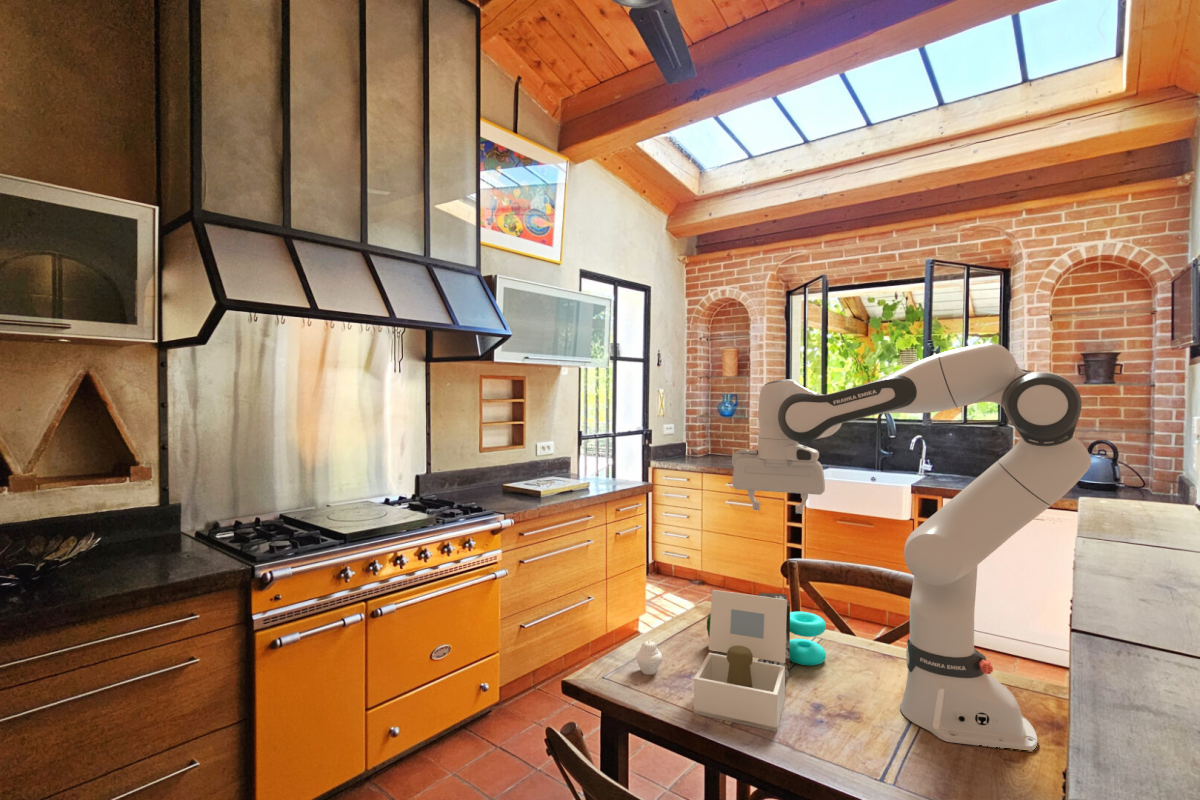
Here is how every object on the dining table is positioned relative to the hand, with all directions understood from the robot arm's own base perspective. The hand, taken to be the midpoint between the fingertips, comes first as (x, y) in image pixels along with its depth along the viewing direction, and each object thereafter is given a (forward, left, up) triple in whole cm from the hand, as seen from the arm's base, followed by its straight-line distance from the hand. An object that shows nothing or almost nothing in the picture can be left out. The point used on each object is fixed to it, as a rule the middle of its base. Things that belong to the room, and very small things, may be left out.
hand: (777, 511), depth 135 cm
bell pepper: (+14, -9, -37) cm, 41 cm away
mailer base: (+5, +18, -37) cm, 42 cm away
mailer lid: (+5, +10, -23) cm, 26 cm away
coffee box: (+1, -3, -37) cm, 37 cm away
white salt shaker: (+27, +11, -37) cm, 47 cm away
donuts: (-5, -11, -37) cm, 39 cm away
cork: (+5, +18, -36) cm, 41 cm away
